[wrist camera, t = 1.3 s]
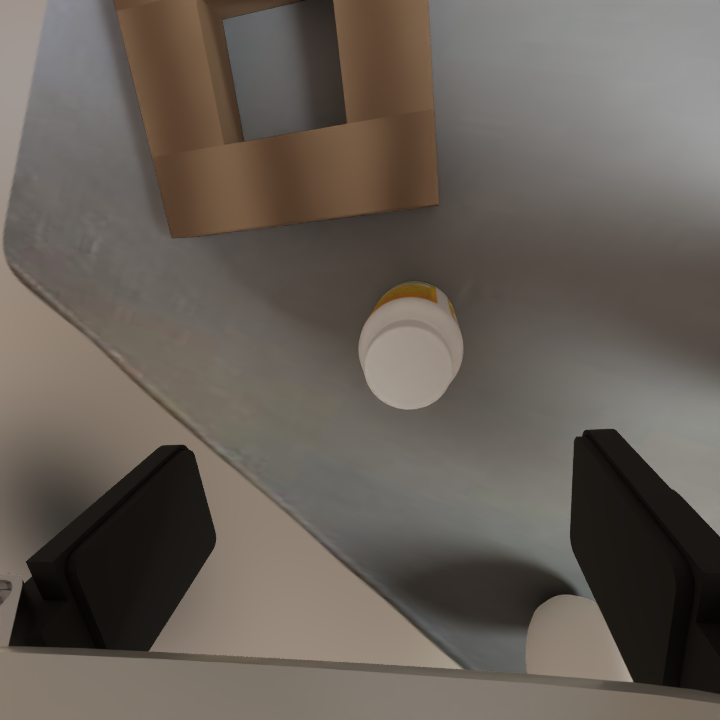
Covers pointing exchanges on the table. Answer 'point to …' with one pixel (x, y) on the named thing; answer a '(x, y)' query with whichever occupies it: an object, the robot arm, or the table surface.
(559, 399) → the table surface
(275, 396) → the table surface
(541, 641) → the white air blower bulb
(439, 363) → the supplement bottle
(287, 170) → the bore block
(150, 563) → the robot arm
